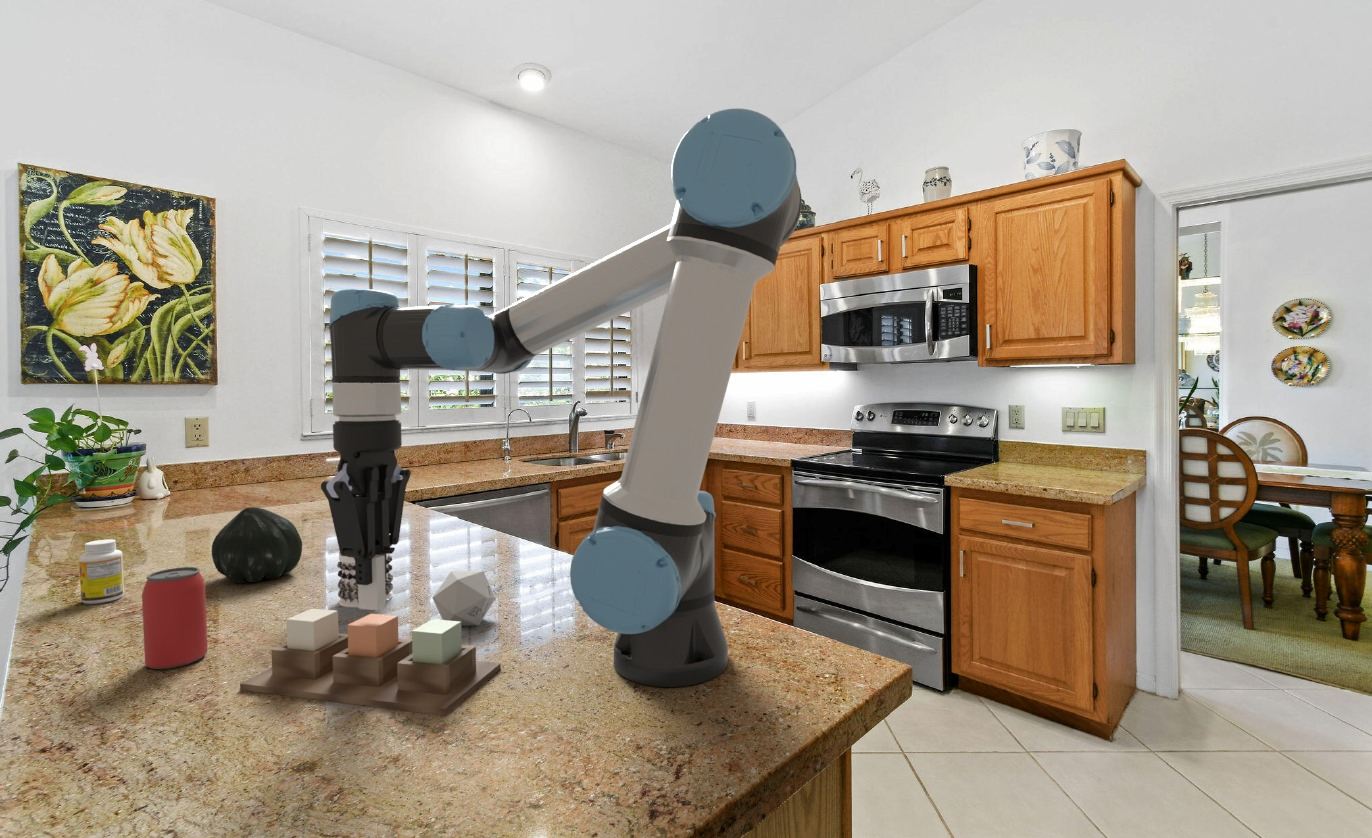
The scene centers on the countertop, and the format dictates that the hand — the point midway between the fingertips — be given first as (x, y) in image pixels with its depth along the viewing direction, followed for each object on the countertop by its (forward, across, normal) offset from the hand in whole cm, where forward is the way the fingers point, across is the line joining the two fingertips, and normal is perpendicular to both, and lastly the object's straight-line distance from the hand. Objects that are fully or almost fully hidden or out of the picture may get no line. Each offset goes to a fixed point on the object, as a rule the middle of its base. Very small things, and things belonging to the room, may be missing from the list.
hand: (372, 607), depth 79 cm
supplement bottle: (+10, -16, -68) cm, 70 cm away
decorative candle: (+10, -26, -23) cm, 36 cm away
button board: (+9, 0, 0) cm, 9 cm away
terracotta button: (+6, 0, 0) cm, 6 cm away
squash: (+10, -33, -53) cm, 63 cm away
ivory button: (+6, 0, -9) cm, 11 cm away
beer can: (+10, +1, -30) cm, 31 cm away
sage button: (+6, 0, +9) cm, 11 cm away
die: (+9, -20, 0) cm, 22 cm away
